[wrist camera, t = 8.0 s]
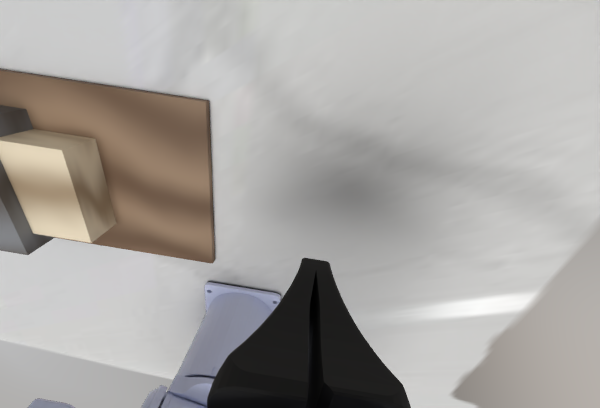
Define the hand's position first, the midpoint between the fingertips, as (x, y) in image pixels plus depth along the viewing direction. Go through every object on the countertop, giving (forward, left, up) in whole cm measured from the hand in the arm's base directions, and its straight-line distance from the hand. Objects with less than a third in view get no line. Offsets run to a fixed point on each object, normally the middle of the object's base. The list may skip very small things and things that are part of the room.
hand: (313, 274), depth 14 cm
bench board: (-2, +18, -9) cm, 20 cm away
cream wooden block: (-2, +21, -9) cm, 22 cm away
